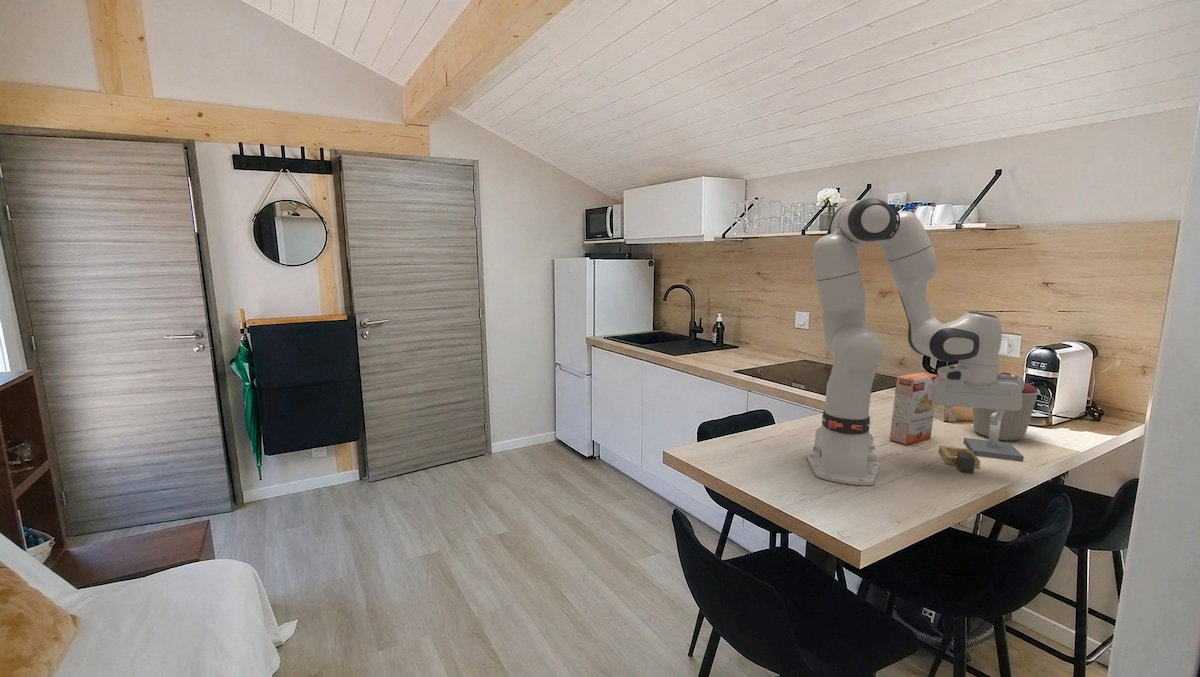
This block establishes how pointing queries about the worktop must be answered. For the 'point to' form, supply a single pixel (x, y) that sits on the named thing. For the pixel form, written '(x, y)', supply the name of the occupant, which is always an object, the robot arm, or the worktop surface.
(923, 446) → the worktop surface
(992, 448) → the stand
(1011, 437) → the canister
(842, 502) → the worktop surface
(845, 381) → the robot arm
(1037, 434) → the worktop surface
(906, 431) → the cracker box
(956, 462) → the link
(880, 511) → the worktop surface
